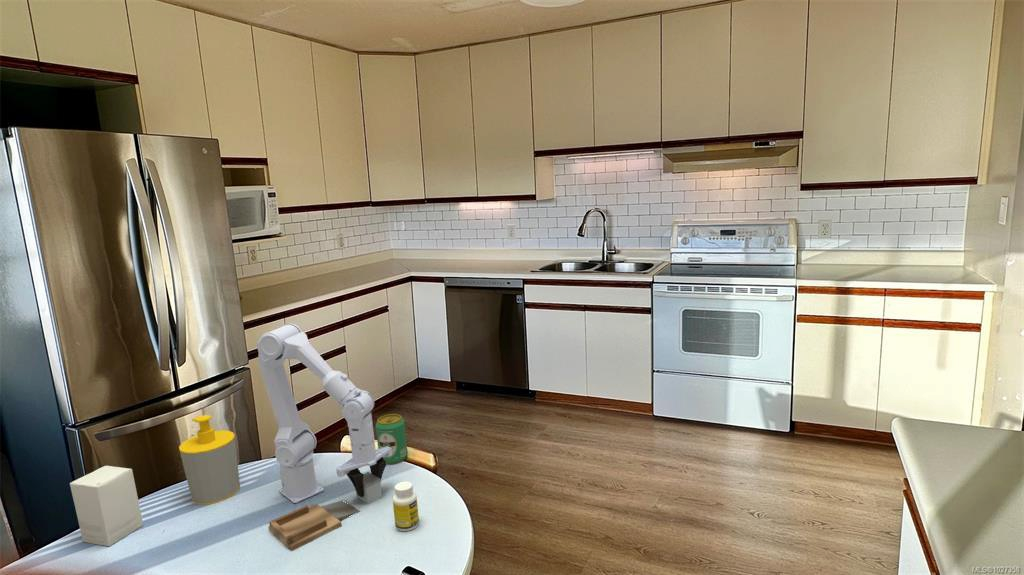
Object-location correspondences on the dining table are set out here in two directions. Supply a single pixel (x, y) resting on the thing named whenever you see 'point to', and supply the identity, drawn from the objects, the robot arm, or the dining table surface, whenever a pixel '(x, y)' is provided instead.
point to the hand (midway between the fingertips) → (368, 491)
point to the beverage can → (392, 437)
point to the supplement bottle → (405, 507)
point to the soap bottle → (210, 463)
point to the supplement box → (106, 505)
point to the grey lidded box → (371, 488)
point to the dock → (309, 523)
